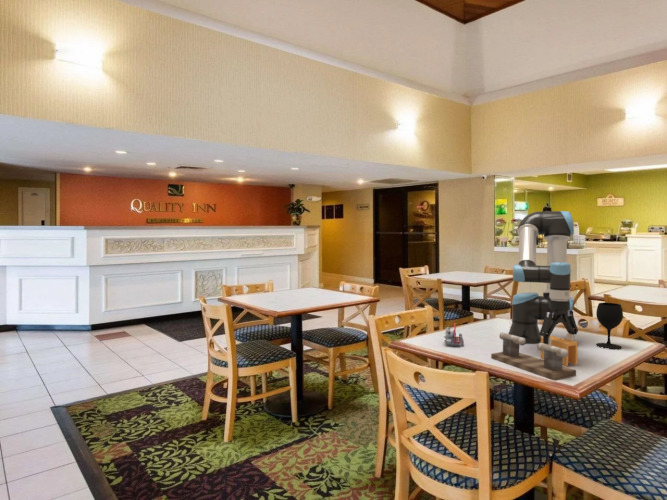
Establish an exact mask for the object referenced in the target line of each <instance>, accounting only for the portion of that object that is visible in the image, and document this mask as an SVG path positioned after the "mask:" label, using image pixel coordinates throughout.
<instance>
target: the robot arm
mask: <svg viewBox="0 0 667 500" xmlns="http://www.w3.org/2000/svg"><path fill="white" fill-rule="evenodd" d="M574 227H575V225H574V220H573V216H572V213H571V212H569V211H565V210H563V211H562V210H558V211H557V210H555V211H554V210H553V211H533V212H531V213H529V214H527V215H525V216H524V217H523V219H521V221H520V222H519V224H518V226H517V230H516V231H517V235H518V237H519V238H518V253H517V254H518V258H517V259H518V260H517V264H514V265H513V266H512V280H513V281H514V282H517V283H518V282H521V283H543V284H546V289H545V290H544V291H543V292H542V295H539V294H538V292H520V293H516V294H514V295H513V297H512V302H511V305H512V308H511V309H512V310H511V311H512V313H511V315H512V318H511V320H512V321H511V324H512V325H511V324H510V327H509V328H510V329H509V332H507V334H511V335H514V336H518V337H522V338H525V340H526V342H525V344H538V343H541V337H543V343H544V344H548V345H551V337H550V336H552V335H551V334H552V333H553V332H554V330H555V328H556V326H557V325H558V324H561V323H562V324H563V326H564V328H565V329H566V331H567V333H566V337H565V339H567V340H571V341H575V335H577V334H578V333H579V329H578V325H577V323H576V319H575V317H574V311H573V309H574V298H573V297H572V296H571V277H572V276H571V273H572V268H571V263H569V262H567V260H568V259H567V257H568V256H567V253H568V252H567V251H568V248H567V247H568V246H567V245H568V241H569V240H571V236H572V235H574V234H575V231H574V230H575V228H574ZM539 235H540V236H541V235H543V239H544V240H545V241H546V243H547V244H546V250H547V251H546V265H537V237H538V236H539ZM538 321H543V322H542V325H541V327H540V328H539V324H538V323H539V322H538Z"/></svg>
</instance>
